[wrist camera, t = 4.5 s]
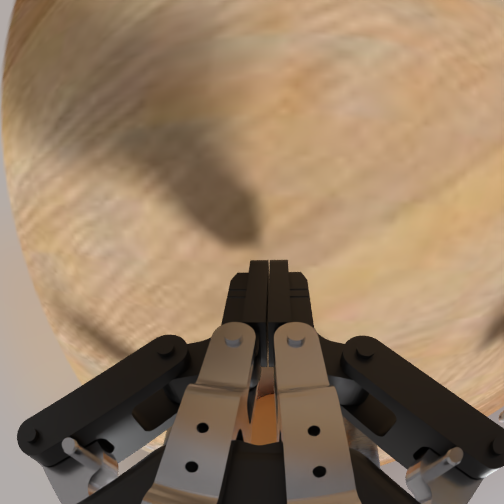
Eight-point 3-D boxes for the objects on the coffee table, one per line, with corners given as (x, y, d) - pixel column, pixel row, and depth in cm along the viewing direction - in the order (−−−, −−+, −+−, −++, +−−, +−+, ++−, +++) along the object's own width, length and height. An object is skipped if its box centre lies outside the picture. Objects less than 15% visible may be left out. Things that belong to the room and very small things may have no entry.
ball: (246, 392, 21) (231, 394, 16) (314, 390, 20) (320, 392, 15) (246, 454, 18) (231, 472, 14) (315, 452, 18) (320, 472, 13)
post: (338, 391, 19) (349, 502, 11) (371, 387, 18) (389, 494, 11) (333, 406, 20) (340, 506, 12) (363, 403, 20) (376, 500, 12)
